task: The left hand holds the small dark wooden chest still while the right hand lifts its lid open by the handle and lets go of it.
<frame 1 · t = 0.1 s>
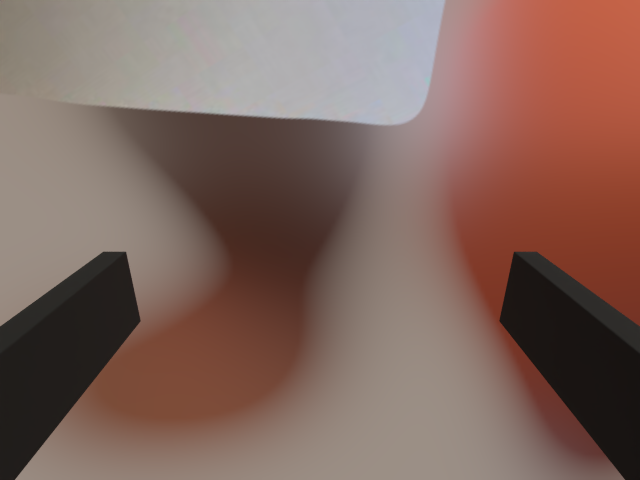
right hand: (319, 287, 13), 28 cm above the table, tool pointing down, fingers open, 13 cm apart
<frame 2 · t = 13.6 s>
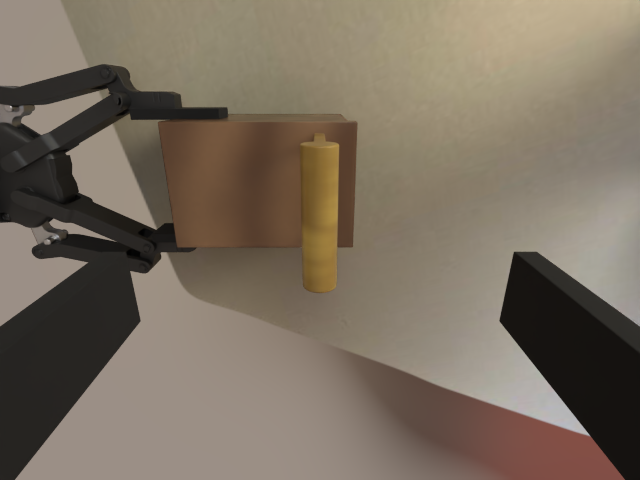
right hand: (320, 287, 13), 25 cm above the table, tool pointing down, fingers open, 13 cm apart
left hand: (229, 176, 30), fingers closed on chest, 9 cm apart
chest: (274, 163, 36), on the table, touching left hand
lid: (253, 201, 23), point 14 cm above the table, hinge at 0.0°
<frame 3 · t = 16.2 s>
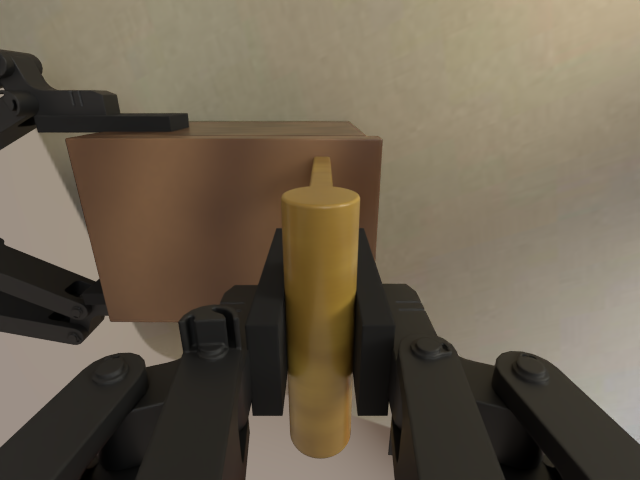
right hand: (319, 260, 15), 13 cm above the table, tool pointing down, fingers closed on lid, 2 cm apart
chest: (260, 186, 27), on the table, touching left hand
lid: (211, 273, 14), point 14 cm above the table, hinge at 1.0°, touching right hand
when the left hand's fingers open (6 cm above the table, at t = 23.4 s): chest stays where it is, on the table.
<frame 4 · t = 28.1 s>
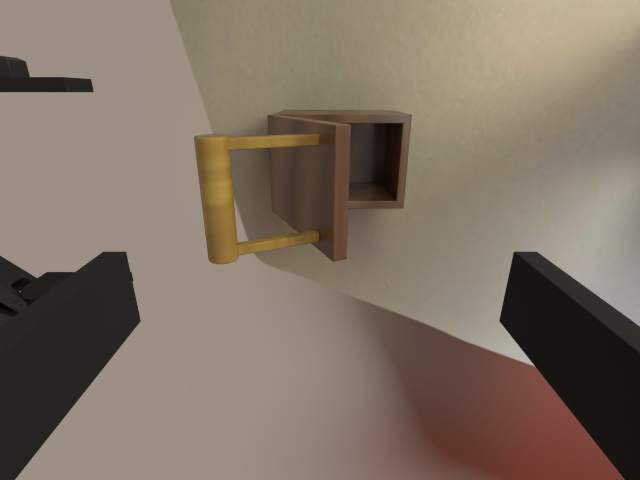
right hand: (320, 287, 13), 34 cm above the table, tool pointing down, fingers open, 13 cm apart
chest: (337, 150, 44), on the table
lid: (254, 182, 28), point 18 cm above the table, hinge at 64.8°
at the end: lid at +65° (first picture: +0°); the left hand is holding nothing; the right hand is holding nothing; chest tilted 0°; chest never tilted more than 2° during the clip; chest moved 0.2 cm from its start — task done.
